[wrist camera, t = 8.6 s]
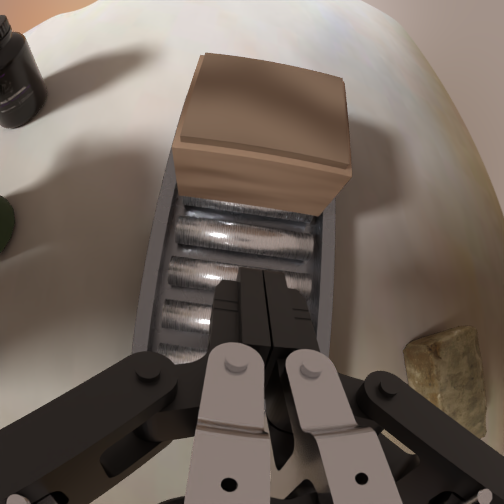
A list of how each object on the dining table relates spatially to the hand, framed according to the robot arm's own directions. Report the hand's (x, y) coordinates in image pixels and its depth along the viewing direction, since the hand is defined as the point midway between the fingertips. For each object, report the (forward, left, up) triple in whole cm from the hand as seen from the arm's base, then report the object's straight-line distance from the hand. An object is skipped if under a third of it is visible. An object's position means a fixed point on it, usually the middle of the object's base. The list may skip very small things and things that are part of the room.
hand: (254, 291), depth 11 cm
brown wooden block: (-6, +10, -10) cm, 15 cm away
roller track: (-3, +5, -13) cm, 14 cm away
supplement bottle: (-31, +3, -13) cm, 34 cm away
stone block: (+19, +5, -13) cm, 24 cm away
